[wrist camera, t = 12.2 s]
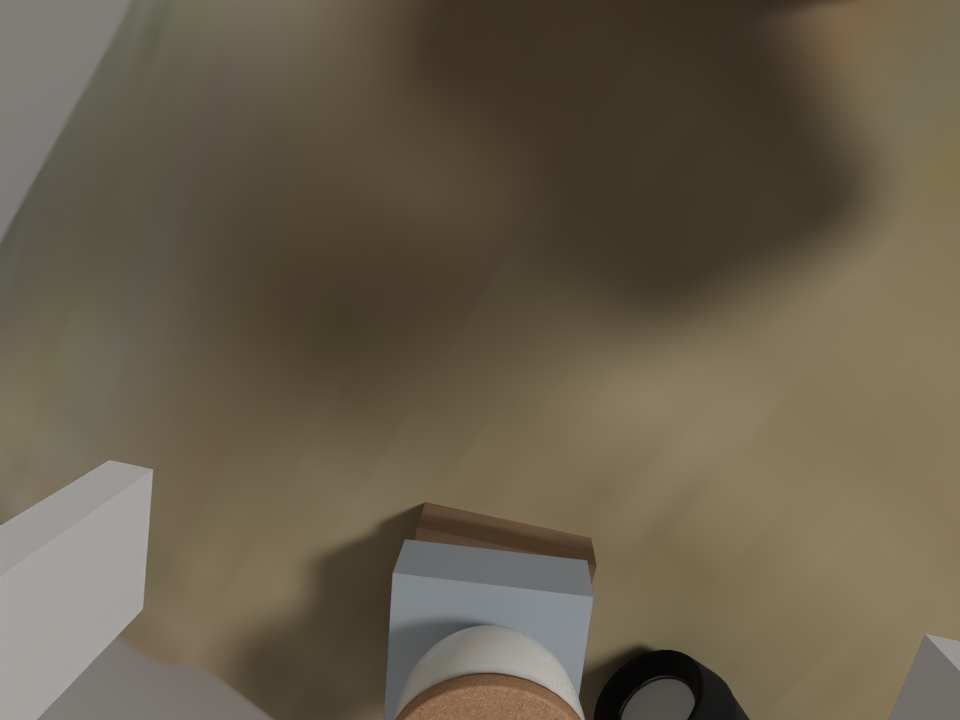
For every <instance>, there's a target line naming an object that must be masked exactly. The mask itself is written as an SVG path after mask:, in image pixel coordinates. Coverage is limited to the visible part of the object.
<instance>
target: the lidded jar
mask: <svg viewBox="0 0 960 720" xmlns="http://www.w3.org/2000/svg"><path fill="white" fill-rule="evenodd" d="M392 720H585V717H584V713H583V710H582V708H581V705H580V702H579V699H578V696H577V693H576V691H575V688H574V686H573V684H572V683H571V681H570V679H569V677H568V675H567V673H566V671H565V670H564V668H563V667H562V665H561V664H560V663H559V662H558V660H557V659H556V658H555V657H554V656H553V654H552V653H551V652H550V651H549V650H548V649H547V648H545V647H544V646H543V645H542V644H541V643H539V642H538V641H536V640H535V639H533V638H531V637H530V636H528V635H526V634H524V633H522V632H520V631H517V630H514V629H511V628H507V627H501V626H495V625H482V626H475V627H469V628H466V629H462V630H459V631H457V632H455V633H452V634H450V635H448V636H447V637H445V638H444V639H442V640H440V641H439V642H437V643H436V644H435V645H434V646H432V647H431V648H430V649H429V650H428V651H427V652H426V653H425V654H424V655H423V656H422V658H421V659H420V660H419V661H418V663H417V664H416V665H415V666H414V668H413V670H412V671H411V673H410V675H409V677H408V679H407V681H406V682H405V684H404V686H403V688H402V691H401V694H400V697H399V699H398V702H397V705H396V708H395V711H394V714H393V719H392Z"/></svg>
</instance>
